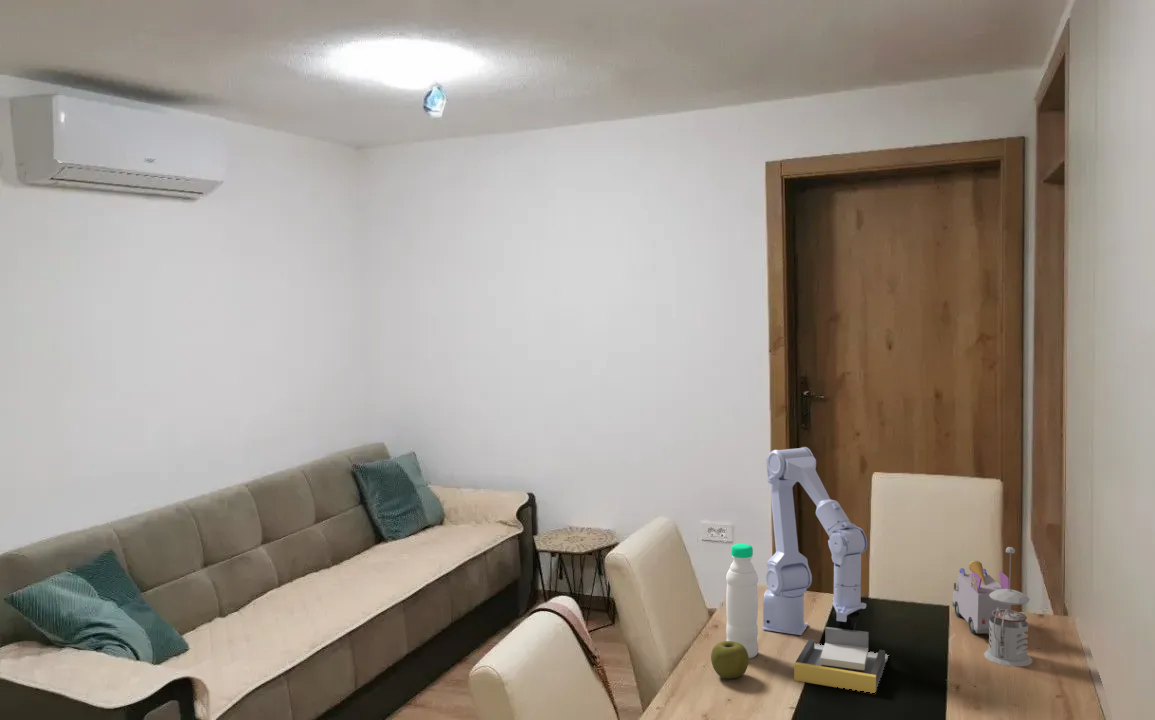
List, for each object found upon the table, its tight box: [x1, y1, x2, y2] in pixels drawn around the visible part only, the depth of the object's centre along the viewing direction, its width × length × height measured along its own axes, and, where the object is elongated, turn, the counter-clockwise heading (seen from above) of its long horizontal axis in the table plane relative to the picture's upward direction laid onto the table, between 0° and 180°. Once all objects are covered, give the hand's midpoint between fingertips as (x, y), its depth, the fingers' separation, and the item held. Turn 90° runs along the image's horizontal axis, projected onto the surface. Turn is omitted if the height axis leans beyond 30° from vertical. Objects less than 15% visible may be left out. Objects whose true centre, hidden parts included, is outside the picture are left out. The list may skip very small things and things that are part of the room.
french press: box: [983, 546, 1033, 668], centre depth 204 cm, size 10×12×25 cm
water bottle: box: [725, 543, 759, 659], centre depth 208 cm, size 7×7×25 cm
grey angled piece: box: [820, 626, 869, 673], centre depth 198 cm, size 9×10×6 cm
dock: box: [793, 638, 890, 694], centre depth 201 cm, size 16×22×4 cm
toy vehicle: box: [951, 560, 1012, 635], centre depth 224 cm, size 9×20×15 cm, turn 174°
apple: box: [710, 640, 749, 680], centre depth 197 cm, size 8×8×7 cm
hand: (846, 642), depth 205 cm, fingers closed
